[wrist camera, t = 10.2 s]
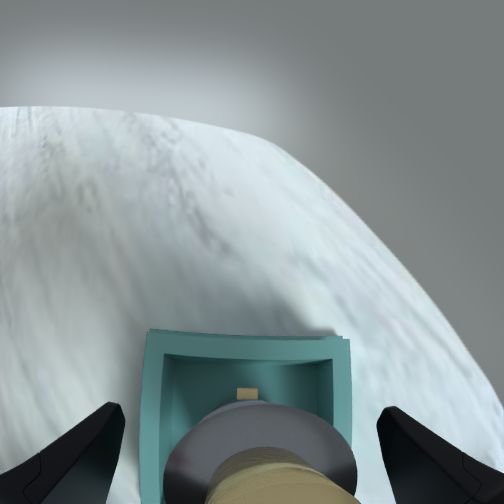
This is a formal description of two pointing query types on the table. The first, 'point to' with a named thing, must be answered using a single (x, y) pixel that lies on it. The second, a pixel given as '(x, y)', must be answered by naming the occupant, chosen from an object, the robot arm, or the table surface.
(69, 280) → the table surface
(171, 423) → the socket
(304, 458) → the gold capped bottle
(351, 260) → the table surface
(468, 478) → the robot arm
